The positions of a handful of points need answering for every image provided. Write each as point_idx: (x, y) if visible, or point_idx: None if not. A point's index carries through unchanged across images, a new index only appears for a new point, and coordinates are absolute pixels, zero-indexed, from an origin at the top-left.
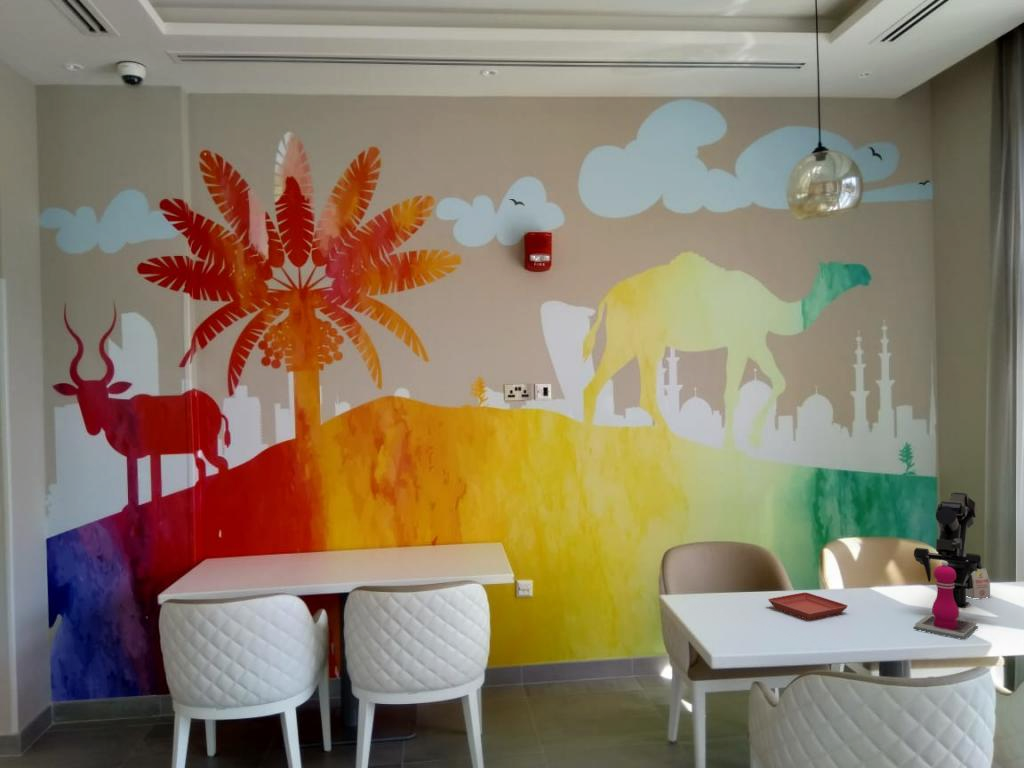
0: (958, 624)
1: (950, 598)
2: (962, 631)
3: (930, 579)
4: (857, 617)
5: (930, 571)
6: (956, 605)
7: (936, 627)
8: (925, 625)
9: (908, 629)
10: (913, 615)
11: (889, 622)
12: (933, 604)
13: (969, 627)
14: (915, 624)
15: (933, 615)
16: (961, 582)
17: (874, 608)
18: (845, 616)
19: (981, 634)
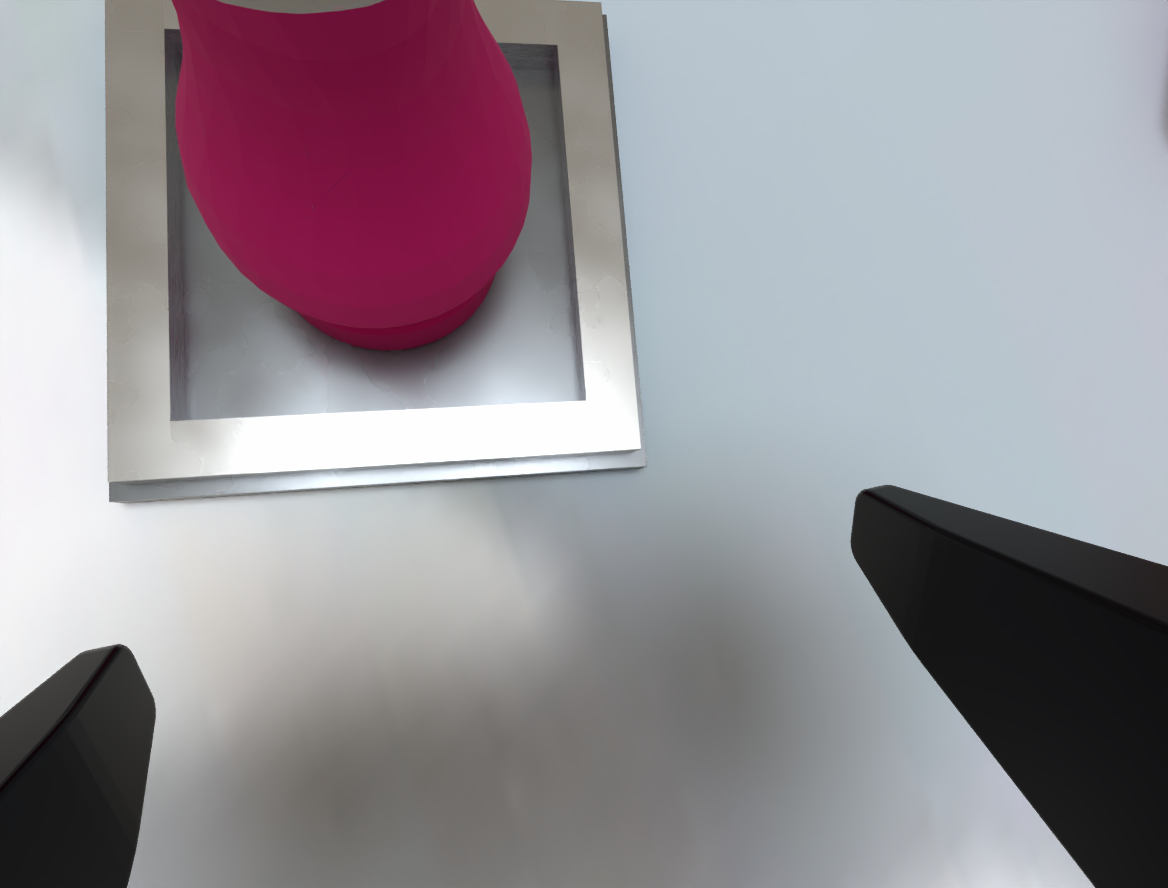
0: (304, 408)
1: None
2: (137, 33)
3: (890, 610)
4: (1069, 93)
5: (1097, 845)
6: (179, 108)
7: None
8: (507, 10)
9: (637, 21)
10: (791, 508)
11: (837, 123)
12: (504, 57)
13: (118, 236)
14: (597, 6)
15: (586, 438)
16: (93, 681)
17: (1120, 473)
18: (1137, 58)
19: (34, 317)
